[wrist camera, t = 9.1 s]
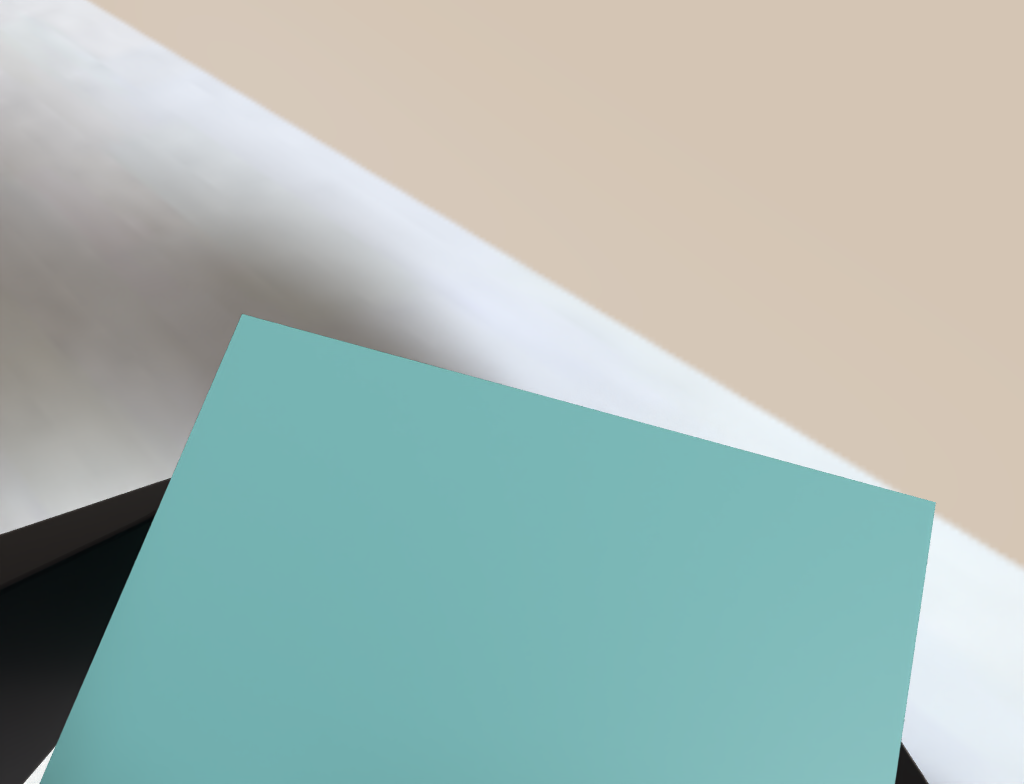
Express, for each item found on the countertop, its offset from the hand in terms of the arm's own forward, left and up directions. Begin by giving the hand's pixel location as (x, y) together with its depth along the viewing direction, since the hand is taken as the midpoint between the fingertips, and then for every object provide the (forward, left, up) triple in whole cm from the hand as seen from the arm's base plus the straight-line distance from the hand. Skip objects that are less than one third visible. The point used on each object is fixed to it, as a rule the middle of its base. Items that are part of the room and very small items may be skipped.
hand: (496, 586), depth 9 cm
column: (-1, 0, -8) cm, 8 cm away
